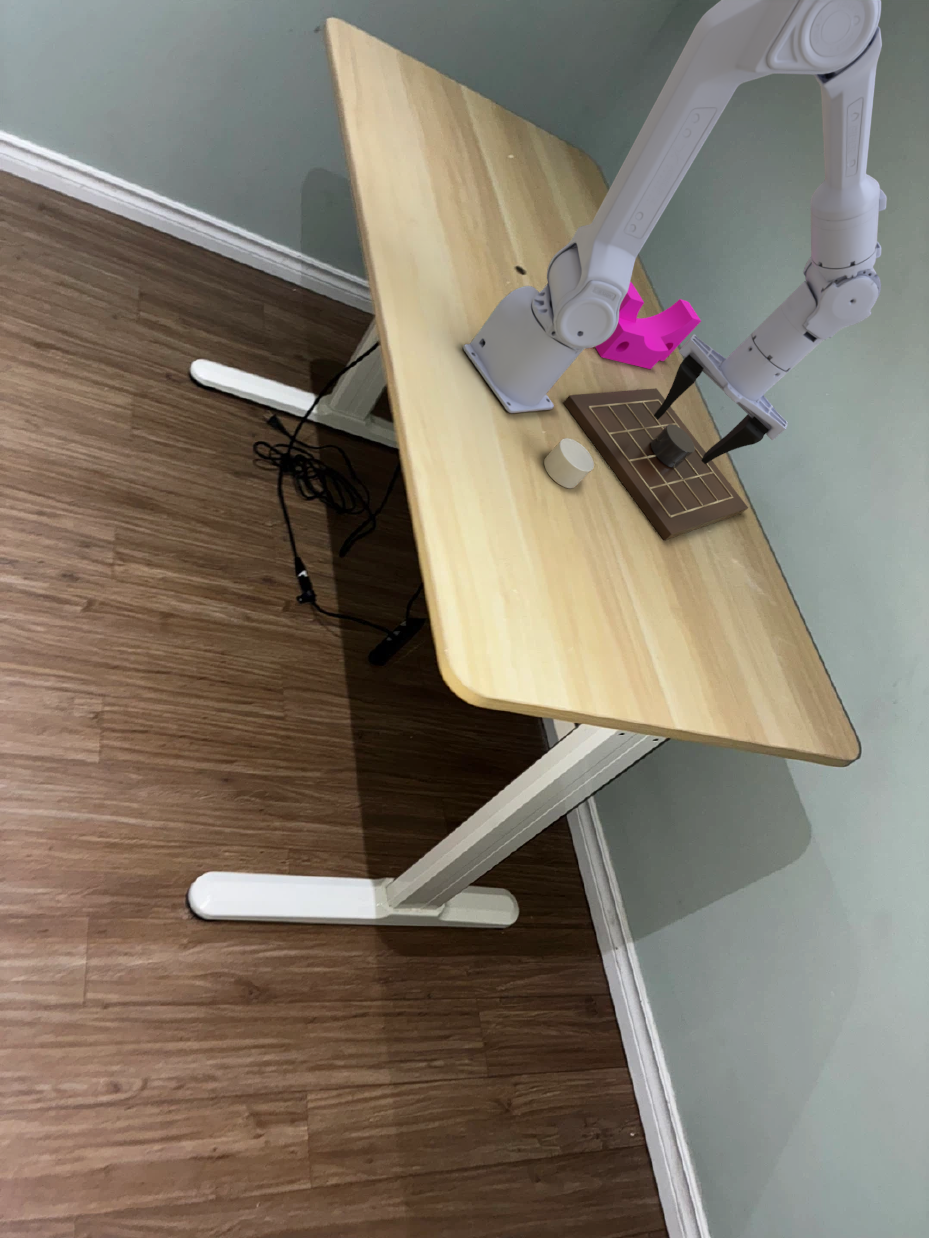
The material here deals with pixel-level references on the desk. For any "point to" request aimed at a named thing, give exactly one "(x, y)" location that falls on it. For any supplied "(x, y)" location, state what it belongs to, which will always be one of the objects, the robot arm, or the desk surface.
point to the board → (654, 461)
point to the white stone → (568, 463)
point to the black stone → (672, 446)
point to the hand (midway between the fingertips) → (681, 437)
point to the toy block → (647, 332)
